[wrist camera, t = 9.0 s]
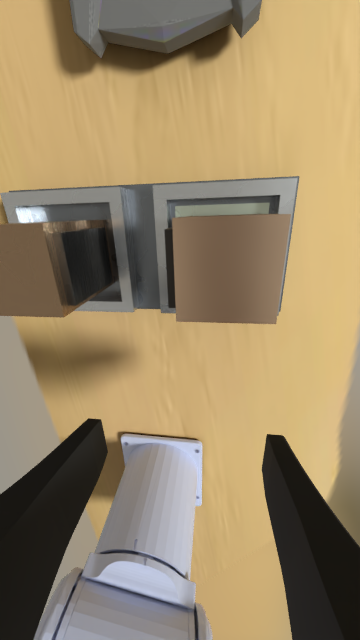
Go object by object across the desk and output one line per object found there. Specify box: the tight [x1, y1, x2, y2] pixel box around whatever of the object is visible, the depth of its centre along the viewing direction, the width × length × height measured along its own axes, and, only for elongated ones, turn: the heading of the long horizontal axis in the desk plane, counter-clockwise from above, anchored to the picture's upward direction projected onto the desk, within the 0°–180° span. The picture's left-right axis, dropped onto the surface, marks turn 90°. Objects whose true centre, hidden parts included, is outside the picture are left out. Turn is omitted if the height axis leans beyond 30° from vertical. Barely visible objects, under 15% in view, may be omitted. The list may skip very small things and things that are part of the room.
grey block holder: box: [0, 176, 299, 317], centre depth 13 cm, size 8×17×8 cm, turn 92°
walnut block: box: [164, 214, 291, 324], centre depth 12 cm, size 4×4×6 cm
